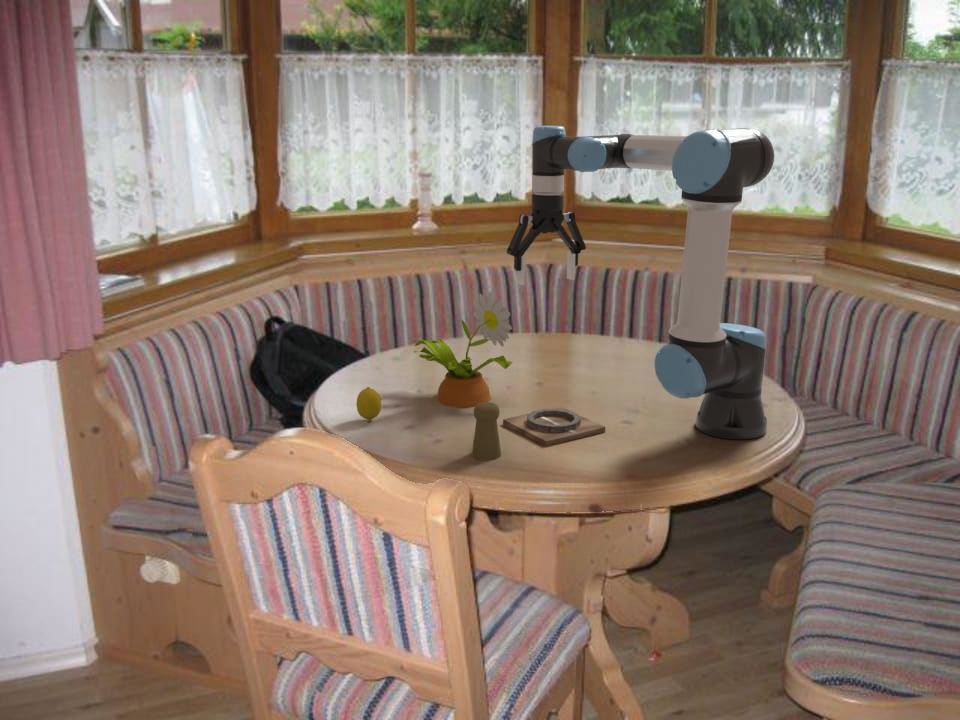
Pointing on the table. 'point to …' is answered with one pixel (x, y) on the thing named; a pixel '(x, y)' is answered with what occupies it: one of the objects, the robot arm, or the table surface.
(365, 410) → the lemon
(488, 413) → the olive round stacked cylinder
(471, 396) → the decorative plant
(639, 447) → the table surface
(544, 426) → the socket board
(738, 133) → the robot arm
